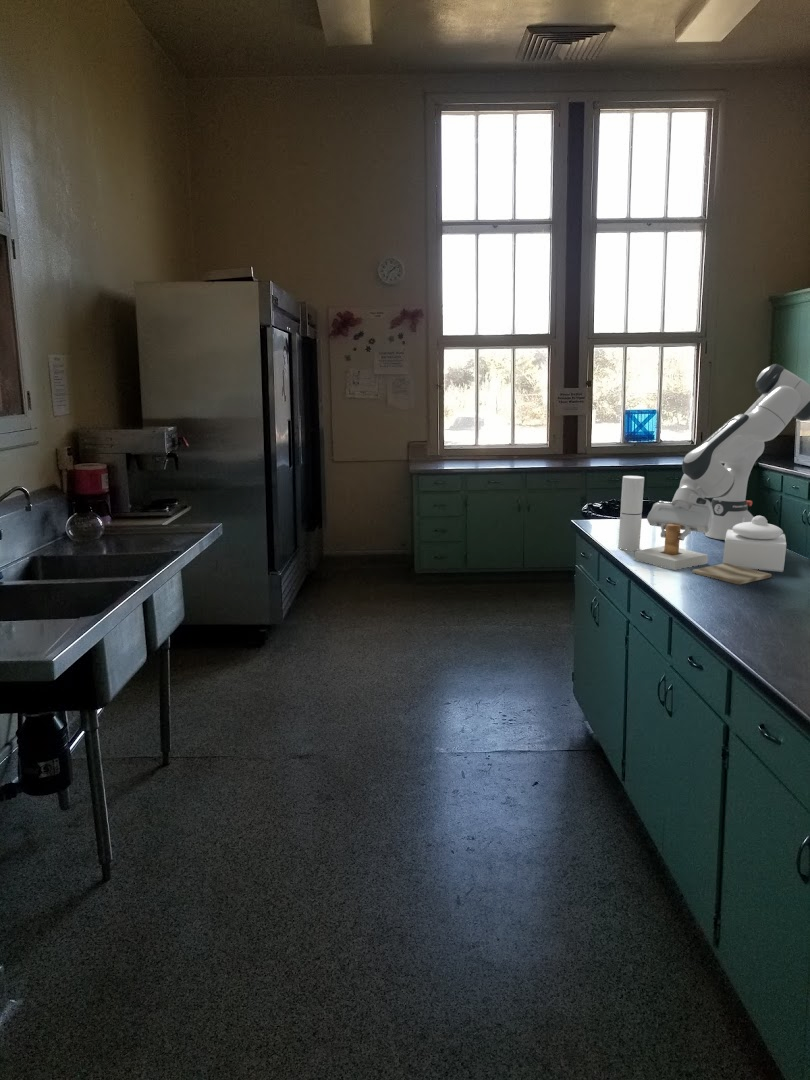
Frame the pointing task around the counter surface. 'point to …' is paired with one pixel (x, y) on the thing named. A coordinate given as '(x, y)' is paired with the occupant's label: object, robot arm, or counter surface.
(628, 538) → the cylindrical container
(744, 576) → the board
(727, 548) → the butter dish
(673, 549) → the plug
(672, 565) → the socket block
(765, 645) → the counter surface
